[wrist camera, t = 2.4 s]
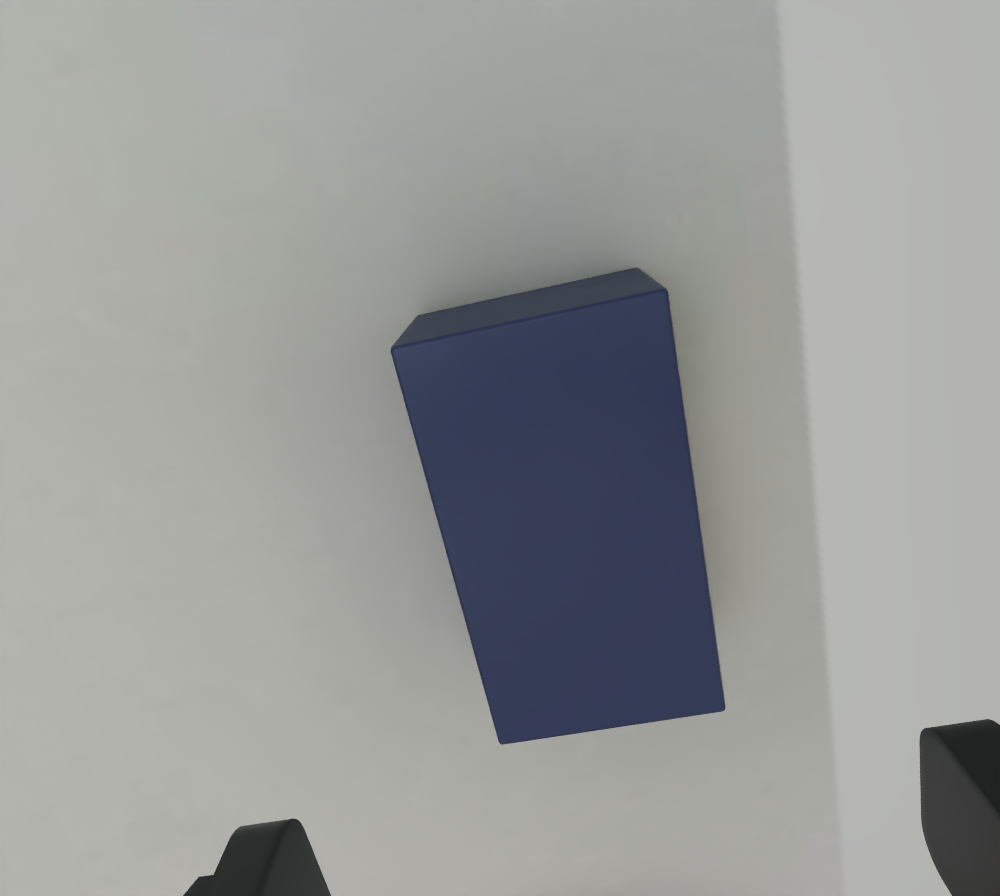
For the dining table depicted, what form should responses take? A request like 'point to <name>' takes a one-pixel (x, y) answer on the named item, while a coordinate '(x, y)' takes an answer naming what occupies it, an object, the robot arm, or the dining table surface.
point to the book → (567, 503)
